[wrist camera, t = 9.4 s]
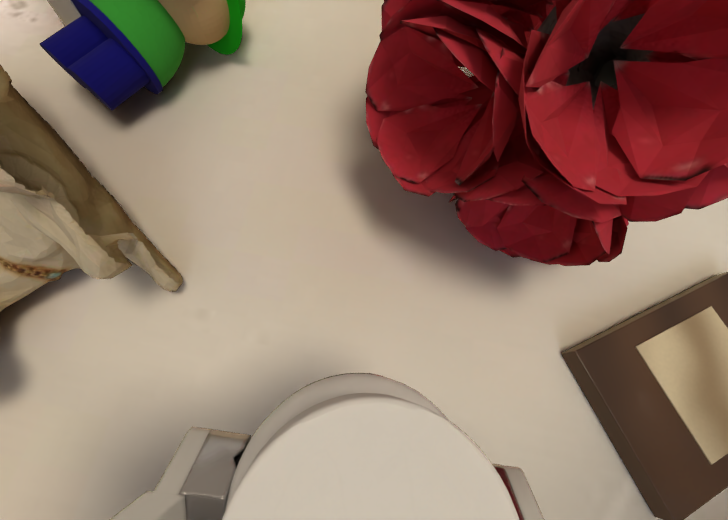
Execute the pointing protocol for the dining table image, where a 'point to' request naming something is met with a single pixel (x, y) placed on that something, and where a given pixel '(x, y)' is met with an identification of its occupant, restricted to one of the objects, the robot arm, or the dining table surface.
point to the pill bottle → (364, 459)
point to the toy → (140, 42)
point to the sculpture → (59, 211)
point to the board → (665, 396)
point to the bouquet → (554, 115)
